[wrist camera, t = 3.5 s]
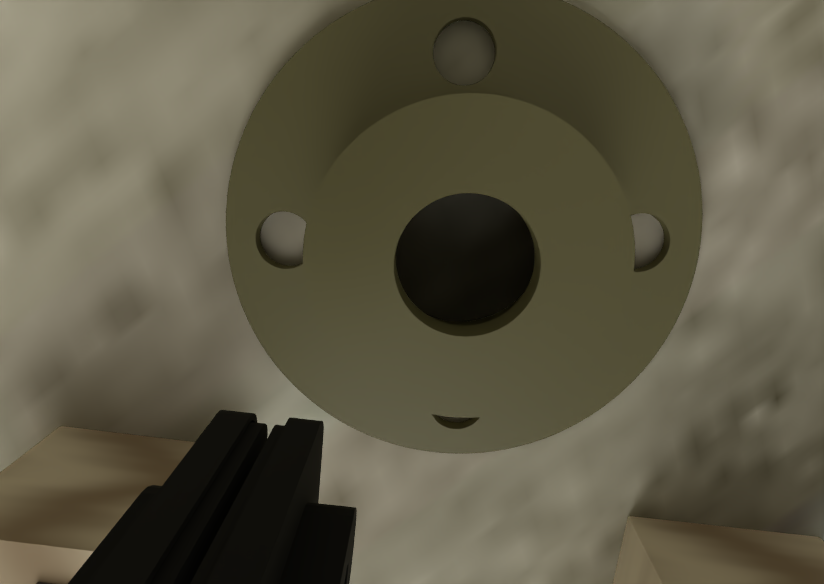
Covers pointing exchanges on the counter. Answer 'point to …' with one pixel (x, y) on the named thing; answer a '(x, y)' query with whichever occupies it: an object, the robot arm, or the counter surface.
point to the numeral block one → (73, 498)
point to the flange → (453, 174)
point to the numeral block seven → (715, 555)
